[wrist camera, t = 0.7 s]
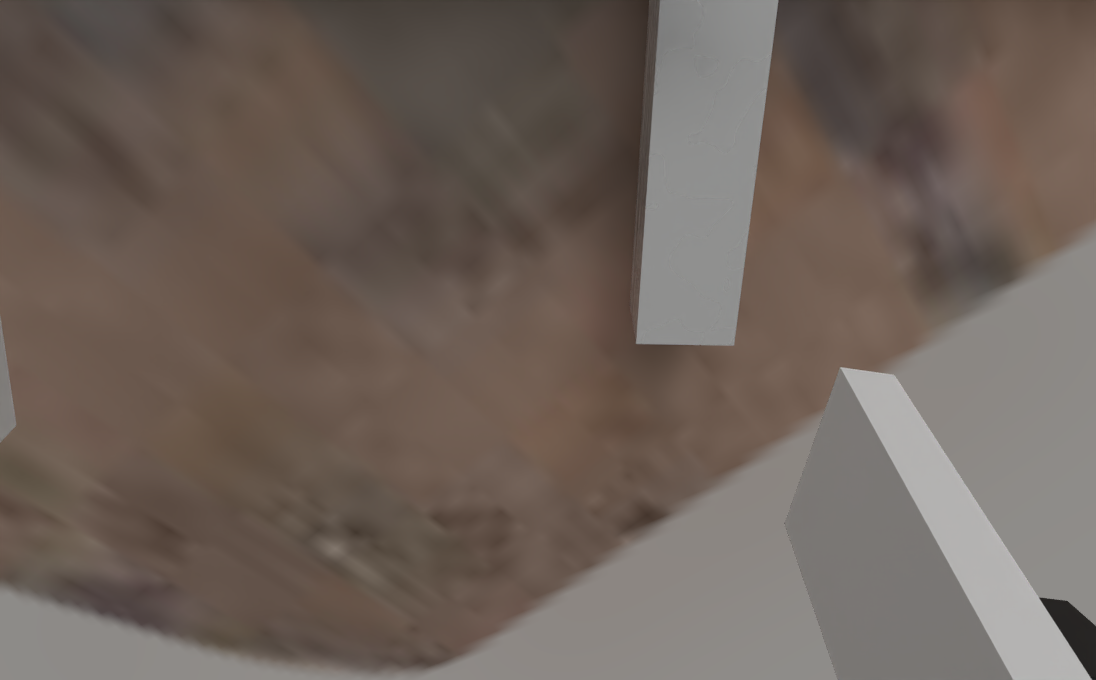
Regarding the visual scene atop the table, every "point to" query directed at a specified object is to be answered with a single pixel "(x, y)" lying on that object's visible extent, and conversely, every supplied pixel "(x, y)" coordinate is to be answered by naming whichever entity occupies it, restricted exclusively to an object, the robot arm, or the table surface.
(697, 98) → the bar
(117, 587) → the table surface
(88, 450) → the table surface
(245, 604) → the table surface
